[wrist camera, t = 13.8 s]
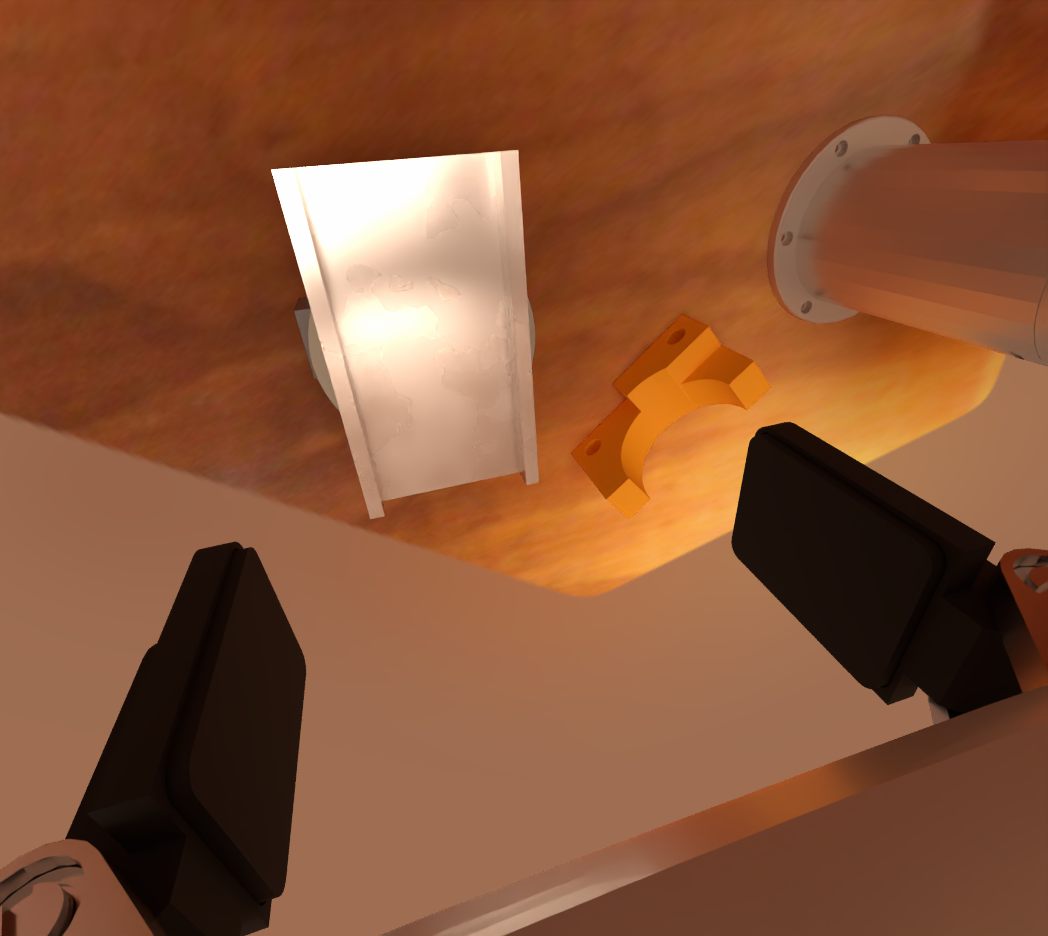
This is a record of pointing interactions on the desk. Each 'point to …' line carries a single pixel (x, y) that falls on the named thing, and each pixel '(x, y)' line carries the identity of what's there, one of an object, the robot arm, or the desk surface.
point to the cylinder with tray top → (418, 316)
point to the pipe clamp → (663, 405)
